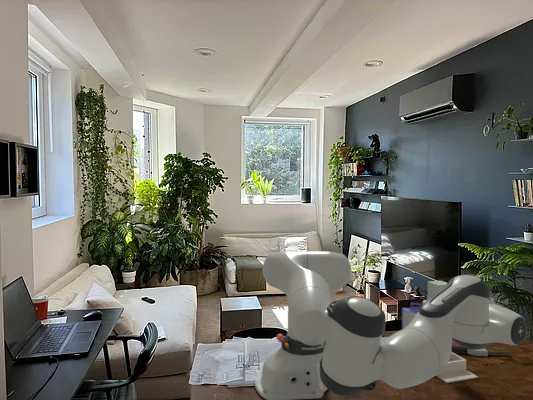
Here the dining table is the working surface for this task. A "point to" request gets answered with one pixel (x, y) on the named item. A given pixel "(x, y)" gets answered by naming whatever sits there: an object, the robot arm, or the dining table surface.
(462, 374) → the carton
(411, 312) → the ink cartridge box
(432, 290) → the box
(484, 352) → the walkie-talkie
